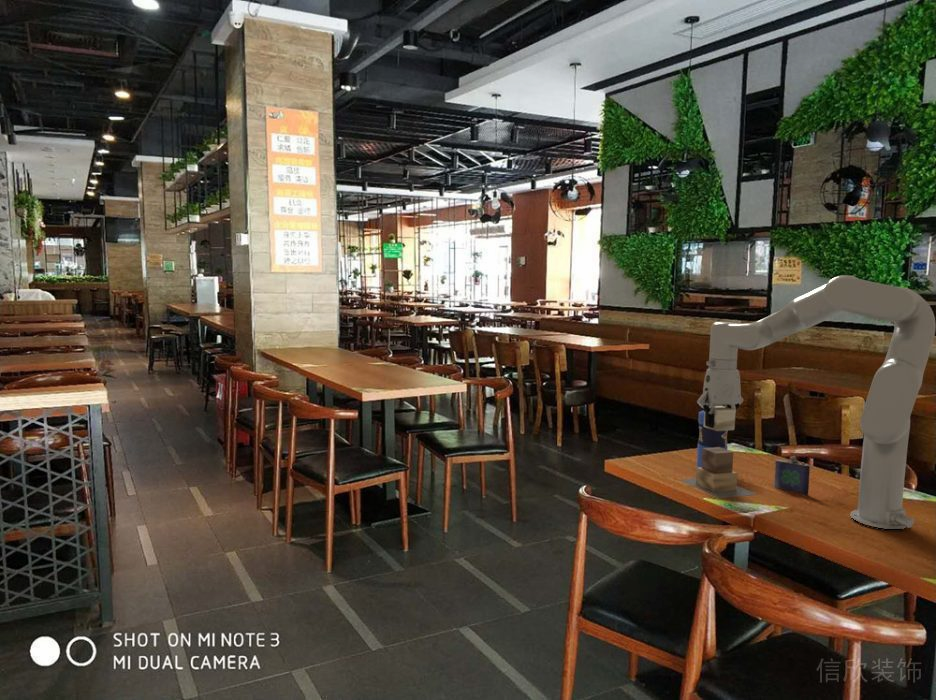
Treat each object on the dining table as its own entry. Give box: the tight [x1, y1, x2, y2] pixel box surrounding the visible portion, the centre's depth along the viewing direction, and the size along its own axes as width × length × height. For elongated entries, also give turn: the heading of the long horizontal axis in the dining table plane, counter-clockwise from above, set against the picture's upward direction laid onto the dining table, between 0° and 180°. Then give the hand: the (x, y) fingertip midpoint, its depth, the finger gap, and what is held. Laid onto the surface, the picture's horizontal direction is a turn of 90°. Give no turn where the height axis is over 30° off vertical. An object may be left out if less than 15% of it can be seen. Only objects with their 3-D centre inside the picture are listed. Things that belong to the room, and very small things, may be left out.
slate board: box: [680, 477, 758, 499], centre depth 196 cm, size 18×13×1 cm
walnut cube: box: [702, 447, 734, 474], centre depth 195 cm, size 6×6×6 cm
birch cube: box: [704, 405, 737, 431], centre depth 193 cm, size 6×6×6 cm
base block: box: [695, 467, 738, 492], centre depth 195 cm, size 8×8×5 cm
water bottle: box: [696, 405, 729, 469], centre depth 213 cm, size 9×9×25 cm
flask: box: [773, 455, 811, 496], centre depth 194 cm, size 9×3×11 cm, turn 50°
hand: (719, 425), depth 194 cm, fingers closed on birch cube, 6 cm apart
